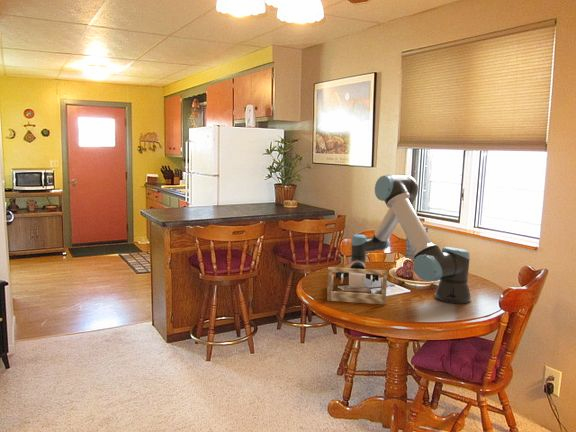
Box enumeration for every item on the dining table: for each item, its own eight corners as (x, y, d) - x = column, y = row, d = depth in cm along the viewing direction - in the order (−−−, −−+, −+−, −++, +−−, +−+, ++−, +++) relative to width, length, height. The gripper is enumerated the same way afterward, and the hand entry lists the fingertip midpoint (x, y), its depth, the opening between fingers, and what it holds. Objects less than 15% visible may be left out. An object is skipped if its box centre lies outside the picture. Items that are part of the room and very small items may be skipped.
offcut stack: (370, 297, 215) (371, 287, 214) (372, 302, 209) (372, 291, 208) (339, 297, 215) (339, 286, 215) (340, 301, 209) (340, 290, 209)
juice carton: (412, 267, 268) (414, 225, 264) (425, 269, 264) (427, 227, 260) (404, 272, 258) (406, 228, 254) (418, 274, 254) (420, 230, 250)
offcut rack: (383, 289, 226) (385, 259, 224) (385, 304, 205) (387, 271, 203) (330, 286, 230) (331, 256, 228) (327, 300, 209) (328, 267, 207)
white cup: (364, 296, 216) (365, 275, 214) (347, 295, 217) (348, 274, 216) (365, 291, 223) (366, 270, 222) (348, 290, 225) (349, 269, 223)
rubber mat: (394, 285, 233) (394, 284, 232) (367, 288, 227) (367, 287, 227) (378, 277, 246) (378, 276, 246) (352, 280, 241) (352, 279, 241)
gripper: (382, 278, 238) (383, 290, 217) (332, 275, 242) (329, 287, 221) (383, 263, 237) (384, 274, 216) (333, 260, 241) (329, 271, 220)
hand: (356, 281), depth 219 cm, fingers open, 13 cm apart
